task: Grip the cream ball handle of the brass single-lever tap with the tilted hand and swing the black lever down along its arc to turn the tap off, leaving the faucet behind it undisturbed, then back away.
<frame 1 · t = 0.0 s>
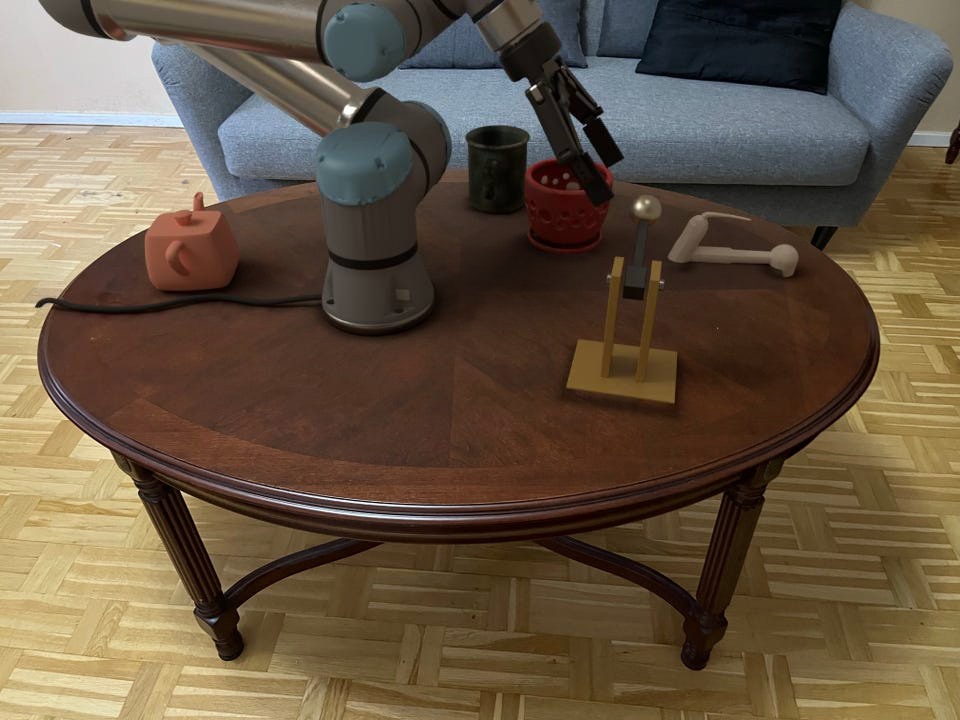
hand: (610, 181, 94), 15 cm above the table, tool tilted 35°, fingers open, 13 cm apart
faucet: (729, 269, 106), on the table
flower pot: (564, 246, 113), on the table
tap lever: (640, 244, 79), point 15 cm above the table, hinge at 26.0°
teapot: (201, 276, 106), on the table
mug: (495, 207, 125), on the table
tap bracket: (622, 378, 85), on the table
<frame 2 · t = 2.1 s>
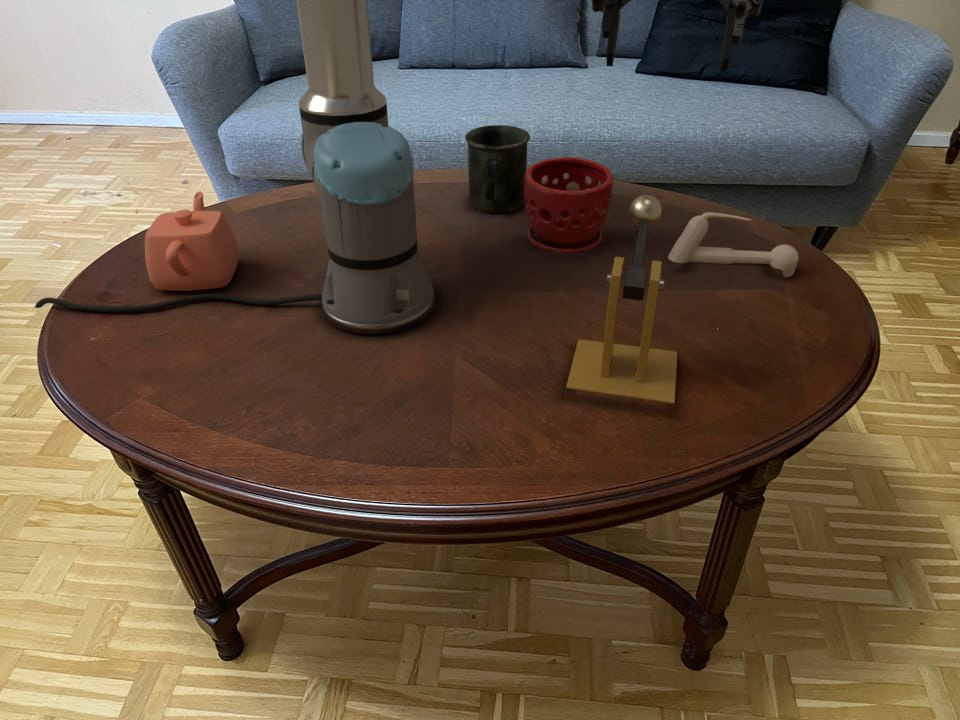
hand: (666, 62, 86), 30 cm above the table, tool tilted 45°, fingers open, 13 cm apart
nothing on the table moved.
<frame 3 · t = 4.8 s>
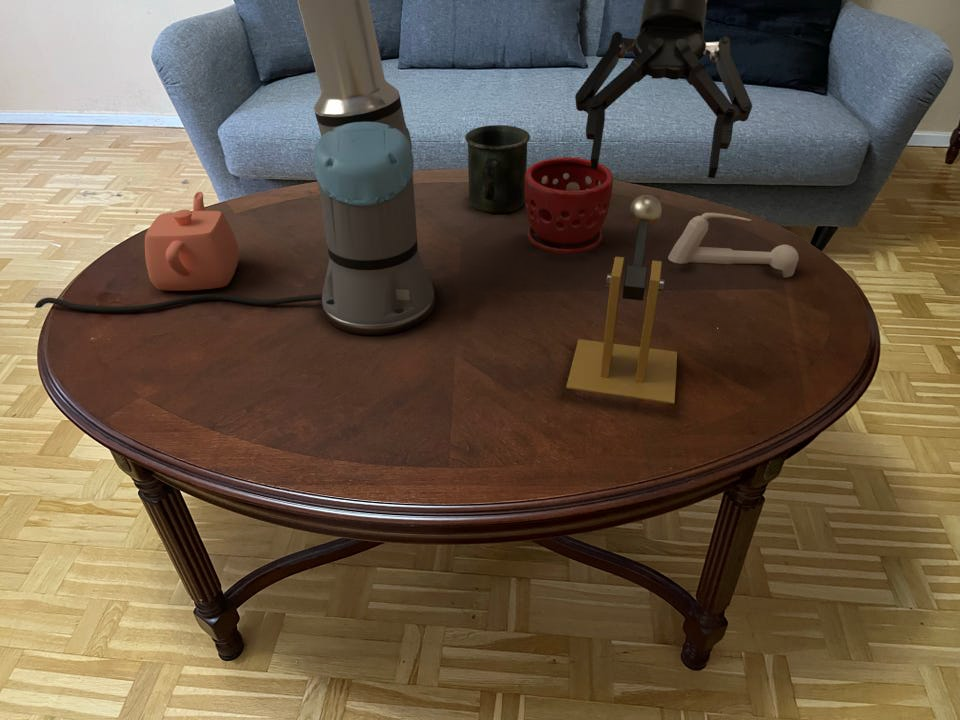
hand: (652, 168, 84), 21 cm above the table, tool tilted 45°, fingers open, 13 cm apart
nothing on the table moved.
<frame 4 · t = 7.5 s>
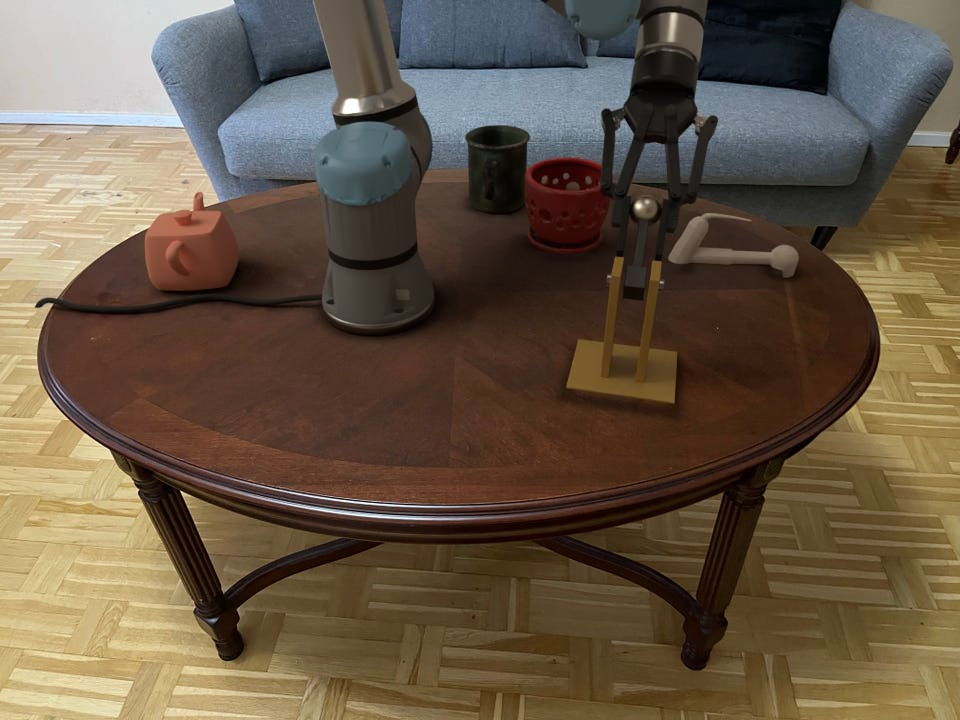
hand: (639, 256, 81), 14 cm above the table, tool tilted 45°, fingers closed on tap lever, 4 cm apart
tap lever: (640, 244, 79), point 15 cm above the table, hinge at 26.0°, touching gripper
everything else where it was.
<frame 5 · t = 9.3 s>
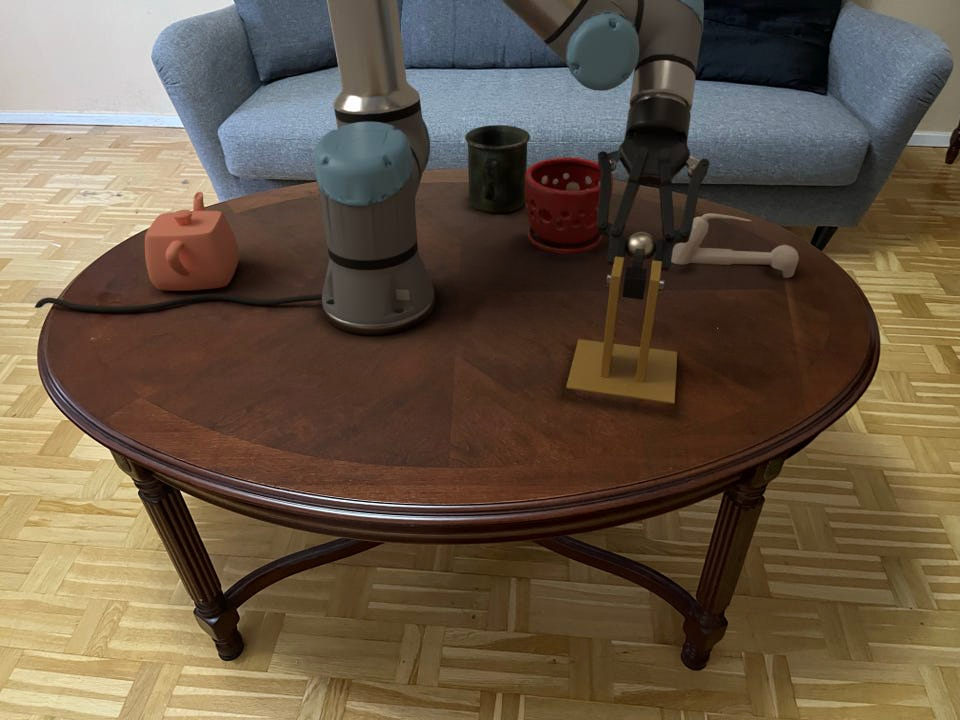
hand: (634, 293, 84), 8 cm above the table, tool tilted 45°, fingers closed on tap lever, 4 cm apart
tap lever: (638, 263, 81), point 13 cm above the table, hinge at -3.8°, touching gripper
everything else where it was.
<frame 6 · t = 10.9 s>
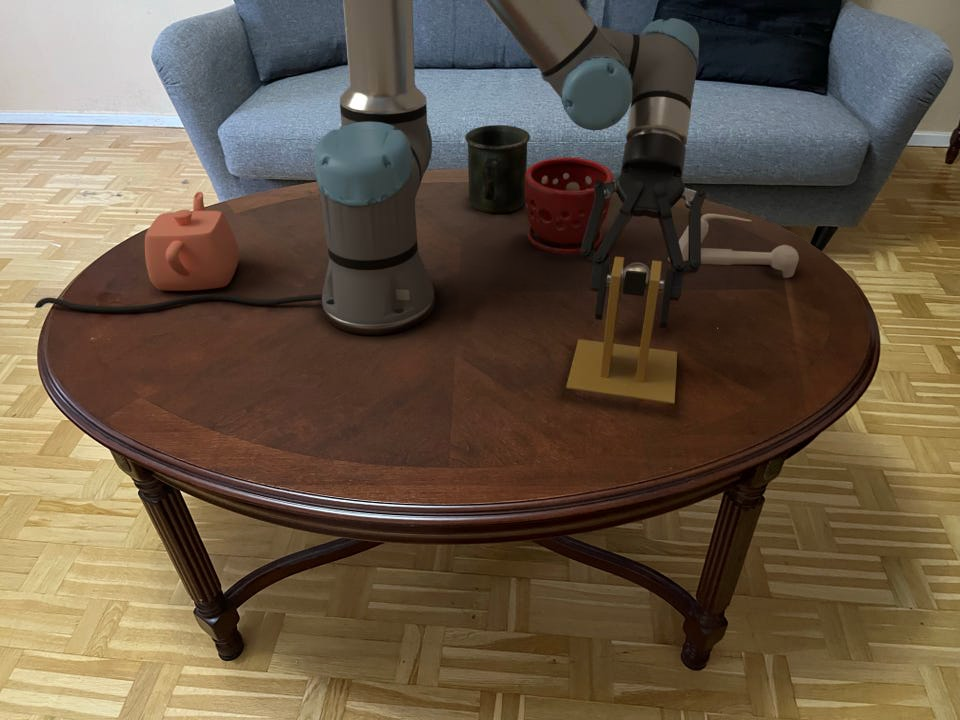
hand: (630, 321, 87), 5 cm above the table, tool tilted 45°, fingers open, 7 cm apart
tap lever: (635, 279, 82), point 11 cm above the table, hinge at -25.2°
everything else where it was.
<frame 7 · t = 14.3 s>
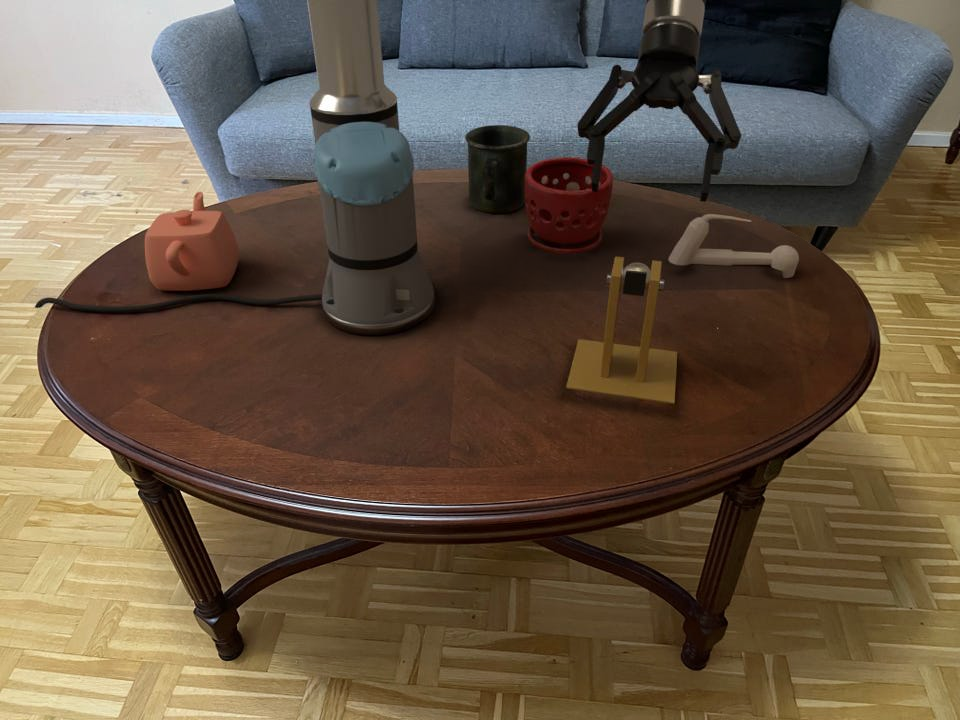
hand: (648, 192, 90), 16 cm above the table, tool tilted 45°, fingers open, 13 cm apart
nothing on the table moved.
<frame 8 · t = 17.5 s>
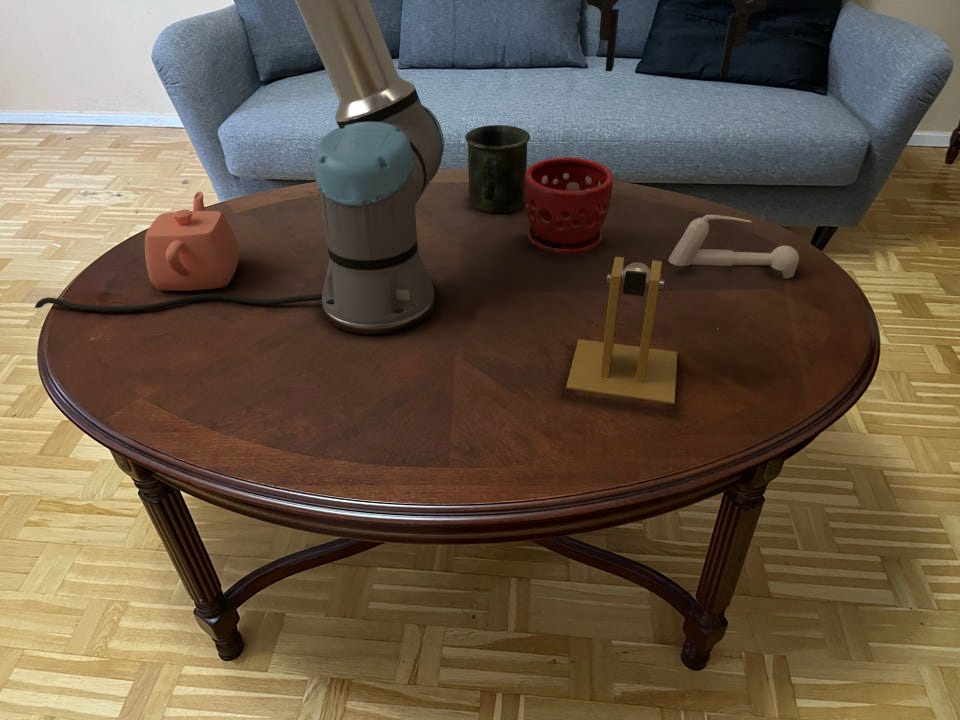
hand: (665, 71, 87), 29 cm above the table, tool pointing down, fingers open, 13 cm apart
nothing on the table moved.
at the end: tap lever at -25° (first picture: +26°); faucet moved 0.7 cm from its start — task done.
